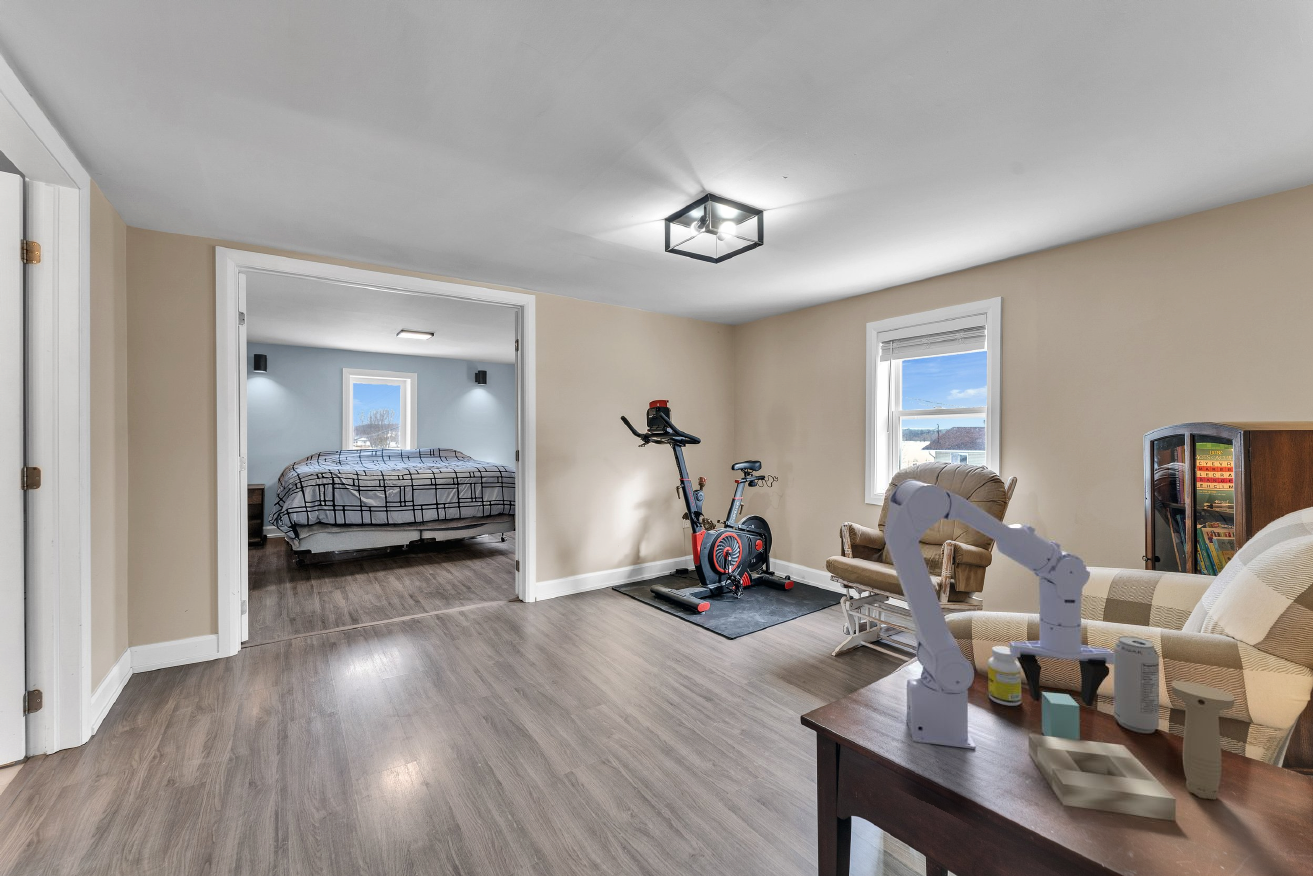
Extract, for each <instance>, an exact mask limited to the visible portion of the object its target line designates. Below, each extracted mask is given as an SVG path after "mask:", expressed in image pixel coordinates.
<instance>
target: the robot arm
mask: <svg viewBox="0 0 1313 876" xmlns="http://www.w3.org/2000/svg"><path fill="white" fill-rule="evenodd" d="M887 510H888V511H887V515H886V520H885V525H884V530H883V538H884V541H885V544H886V547H887V550H888V552H889V556H890V558H891V562H892V563H893V564H892V565H893V567H894V571H895V572H896V575H897V578H898V580H899V581H898V582H899V584H900V587H901V589H902V592H903V596H904V597H905V600H906V601H905V602H906V604H907V607H908V609H909V612H910V615H911V618H912V621H913V624H914V626H915V629H916V631H915V632H914V637H915V640H916V649H915V655H916V659H917V661H918V663H919V664H920V665H921V666H922V670H921V674H920V677H919V678H915V679H914V678H913V679H911V678H910V679H907V681H906V721H907V724H908V728H909V731H910V734H911V737H912V740H913V742H916V743H924V744H932V745H938V746H939V745H940V746H948V747H956V748H965V749H973V750H975V749H976V747H977V746H976V744H975V742H974V740H973V738H972V736H971V734H970V732H969V730H968V729H969V721H968V719H969V717H968V716H969V714H968V713H969V710H968V706H969V705H968V703H969V702H968V698H969V697H968V694H969V693H968V690H969V688H970V687H971V686H972V684H973V681H974V679H975V671H974V667H973V665H972V663H971V662H970V661H969V660H968V659H967V658H965V656H964V654H963V653H962V651H961V648H960V646H959V645H958V642H957V641H956V639H955V638H954V635H953V634H952V633H951V631H950V629H949V626H948V624H947V621H946V620H947V619H946V618H945V614H944V613H943V609H942V606H941V604H940V601H939V598H938V597H939V596H938V594H937V592H936V589H935V587H934V584H933V580H932V577H931V574H930V573H929V569H928V566H927V564H926V561H925V558H924V555H923V552H922V550H921V547H920V543H919V542H920V540H921V539H922V537H924V535H925V533H926V531H928V530H929V529H931V528H932V527H933V526H934V525H936V524H937V523H938V522H940V521H941V520H942V519H945V520H947V521H951V520H952V521H953V520H958V521H960V522H962V523H963V524H965V525H967V526H969V527H971V528H972V529H974V530H976V531H978V532H980V533H982V534H983V535H985V536H987V537H989V538H991V539H993V540H994V541H995V545H996V548H997V550H998V552H999V553H1001V554H1003V555H1005V556H1006V557H1008V558H1009V559H1011V560H1012V561H1014V562H1016V563H1018V564H1020V565H1021V566H1023V567H1024V568H1026V569H1028V570H1030V571H1031V572H1032V573H1033V574H1034V575H1035V576H1036V577H1038V578H1039V580H1038V582H1039V583H1038V590H1039V591H1038V593H1039V594H1038V596H1039V597H1038V601H1039V603H1038V604H1039V611H1038V612H1039V640H1028V641H1027V640H1026V641H1009V648H1010V653H1011V654H1012V655H1013V656H1014V657H1016V660H1017V662H1018V663H1019V664H1020V667H1021V670H1022V672H1023V675H1024V676H1025V680H1026V682H1027V685H1028V691H1029V696H1030V697H1031V698H1032V700H1033V701H1034V702H1040V699H1041V698H1040V696H1041V695H1040V694H1041V693H1040V677H1041V672H1042V671H1041V670H1042V666H1041V665H1040V663H1038V662H1039V661H1038V659H1037V658H1044V659H1045V658H1047V659H1058V660H1069V661H1078V663H1079V670H1080V676H1081V677H1080V678H1081V684H1080V685H1081V686H1080V689H1081V692H1080V694H1081V695H1080V696H1081V701H1082V702H1083V703H1084V704H1085V705H1086V706H1087V707H1093V705H1094V701H1095V698H1096V695H1097V692H1098V690H1099V688H1100V686H1101V684H1103V682H1104V680H1105V679H1106V678H1107V677H1108V676H1110V667H1109V666H1108V665H1114V651H1112V650H1110V649H1109V648H1104V647H1096V646H1092V645H1085V644H1082V596H1083V588H1084V586H1085V585H1086V584H1087V583H1088V582H1089V580H1090V576H1091V572H1090V571H1089V570H1088V569H1087V566H1086V564H1085V563H1084V560H1083V559H1081V557H1079V556H1078V555H1076V554H1072V553H1070V552H1067V551H1064V550H1062V549H1061V544H1059V542H1056V541H1054V540H1051V541H1049V540H1047V539H1046V538H1044V537H1042V536H1041V535H1038V534H1037V533H1035V532H1036V528H1035V527H1033V526H1031V525H1028V524H1023V525H1022V524H1021V523H1014V524H1013V523H1012V524H1007V525H1006V524H1005V523H1003V522H1002V521H1000V519H999V520H998V519H997V518H996V517H994V516H993V515H992V514H989V513H988V512H986V511H985V510H983V509H982V508H980V507H979V506H977V505H975V504H974V503H972V502H970V501H969V500H967V499H966V498H964V497H963V496H960V495H958V494H955V493H954V492H951V491H948V490H945V489H943V488H941V487H940V486H938V485H936V484H930V483H924V482H923V481H920V480H917V479H906V480H903V481H901V482H900V483H899V484H898V485H897V486H896V487H895V488H894V489H893V491H892V493H891V494H890V495H889V497H888V509H887Z"/></svg>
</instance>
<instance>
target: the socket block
mask: <svg viewBox="0 0 1313 876" xmlns="http://www.w3.org/2000/svg"><path fill="white" fill-rule="evenodd" d="M1028 754H1029V755H1030V756H1031V758H1032V759H1033V761H1034V763H1035V764H1036V765H1037V766H1036V767H1038V769H1039V770H1040V772H1041V773H1042V774H1043V776H1044V778H1045V779H1046V781H1047V782H1048V784H1049V785H1050V787H1051V788H1052V790H1053V791H1054V793H1055V794H1056V796H1057V797H1058V799H1059V801H1060V802H1061V804H1063V806H1069V807H1076V808H1083V809H1090V810H1095V811H1096V810H1097V811H1103V812H1109V813H1110V812H1111V813H1117V814H1124V815H1131V816H1139V817H1146V818H1152V819H1157V820H1158V819H1160V820H1167V821H1172V822H1173V821H1174V822H1175V821H1177V819H1176V818H1177V816H1176V814H1177V812H1176V811H1177V810H1176V807H1177V803H1176V800H1177V799H1176V797H1175V796H1174V795H1172V793H1170V791H1169V790H1167V788H1165V787H1164V785H1163V784H1161V782H1160V781H1159V780H1158V779H1157V778H1156V777H1155V776H1154V775H1153V774H1152V773H1151V772H1150V771H1149V770H1148V769H1147V767H1145V765H1143V764H1142V763H1141V761H1139V759H1137V757H1135V755H1133V754H1132V752H1131V751H1130V750H1129V749H1128V748H1127V747H1126V746H1125V745H1124V744H1117V743H1107V742H1100V741H1099V742H1098V741H1092V740H1082V739H1079V740H1075V739H1067V738H1058V737H1049V736H1045V735H1042V734H1041V735H1040V734H1039V735H1037V734H1030V733H1028Z"/></svg>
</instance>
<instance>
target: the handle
mask: <svg viewBox="0 0 1313 876" xmlns="http://www.w3.org/2000/svg"><path fill="white" fill-rule="evenodd" d="M1171 693H1172V695H1173V696H1175V698H1177V699H1179V700H1180V701H1182V702H1183V703H1184V704H1185V717H1184V718H1185V721H1184V733H1183V741H1182V742H1183V743H1182V765H1183V772H1184V775H1185V776H1184V777H1185V778H1186V781H1185V784H1186V785H1185V786H1186V789H1187V791H1188V792H1189V793H1192V794H1194V795H1196V796H1198V798H1200V799H1203V798H1204V799H1209V800H1212V799H1213V800H1212V801H1214V799H1215V800H1217V798H1218V794H1219V792H1218V790H1219V787H1220V784H1221V778H1222V768H1223V763H1222V761H1223V760H1222V759H1223V758H1222V748H1221V747H1222V746H1221V736H1220V721H1219V717H1220V712H1221V711H1229V710H1233V708H1234V707H1235V696H1234V695H1233V694H1232V693H1230V692H1227V691H1225V690H1222V689H1220V688H1215V687H1212V686H1208V685H1203V684H1200V683H1195V682H1189V681H1182V680H1175V681H1172V682H1171ZM1204 799H1203V800H1204Z"/></svg>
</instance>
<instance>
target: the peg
mask: <svg viewBox="0 0 1313 876" xmlns="http://www.w3.org/2000/svg"><path fill="white" fill-rule="evenodd" d="M1041 732H1042V733H1043V736H1049V737H1058V738H1067V739H1075V740H1080V705H1079V704H1078V703H1077V702H1076V700H1074V699H1073V698H1072V697H1071V696H1070V694H1067V693H1057V692H1056V693H1055V692H1048V691H1047V692H1045V691H1041Z"/></svg>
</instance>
